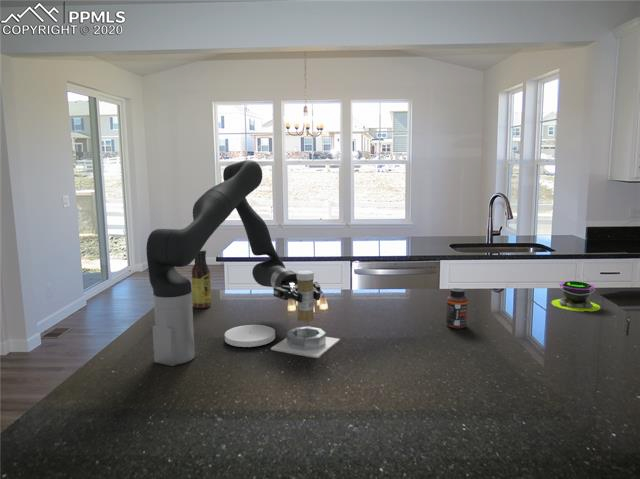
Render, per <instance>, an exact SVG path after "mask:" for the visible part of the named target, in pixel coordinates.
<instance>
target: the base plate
mask: <svg viewBox="0 0 640 479" xmlns="http://www.w3.org/2000/svg"><path fill="white" fill-rule="evenodd" d="M340 341H341V338H337V337H331V336H330V337H329V336H326V344H324V345H323V346H322V347H321V348H319V349H313V350H306V351H303V350H298V349H292V348H290V347H289V345H288V344H287V337H285V338H284V339H283V340H281V341H279V342H278V343H276V344H275V345H273V346H272V347H270V350H271V351H275V352H280V353H285V354H286V353H287V354H292V355H297V356H303V357H307V358H314V359H320V358H321V357H322V356H323V355H325V353H327V352H328V351H329V350H331V348H333V347H334V346H335V345H337V344H338V343H339V342H340Z"/></svg>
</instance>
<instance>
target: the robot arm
mask: <svg viewBox="0 0 640 479" xmlns="http://www.w3.org/2000/svg"><path fill="white" fill-rule="evenodd" d="M222 177H223V181H222V182H220V183H218V184H216V185H214V186H212V187H211V188H209V189H208V190H206V192H204V193H203V194H202V195H201V196H200V197H198V198H197V200H196V201H195V202H194V204H193V207H192V218H193V220H192V222H191V223H190V224H188V225H187V226H186V227H184V228H181V229H178V228H175V229H174V228H156V229H154V230H152V232H150V234H149V236H148V238H147V242H146V246H145V247H146V261H147V262H146V263H147V269H148V279H149V283H150V286H151V287H152V294H153V308H154V309H153V310H154V311H153V312H154V325H152V343H153V357H154V362H153V363H157V364H161V365H165V366H171V367H174V366H176V365H181V364H185V363H188V362H191V361H192V360H193V359H194V358H195V356H196V353H195V352H196V351H195V350H196V349H195V332H194V330H195V329H194V315H193V314H194V311H193V298H192V281H191V280H190V279H189V278H187V277H186V276H183V275H181V274H180V273H179V272H178V270H176V268H183V267H186V266H189V265H190V264H191V263H192V262H194V261H195V258H196V256H197V255H198V253H199V252H200V250H201V249H203V247H204V246H205V245H206V243H207V241H208V240H209V238H210V237H211V236H212V235H213V233H215V232H216V231H217V229H218V228H219V227H220V225H222V224H223V223H224V222H225V221H226V219H227V218H229V216H230V215H231V213H233V212H234V210H235V209H236V211H237V214H238V216H239V218H240V220H241V222H242V224H243V227H244V230H245V233H246V237H247V240H248V243H249V247H250V250H251V253H252V255H253V256H257V257H258V256H267V257H268V258H269V259H267V260H265V261H261V262H260V263H259V262H258V263H256V264H255V265H253V268H252V272H251V274H252V277H253V279H254V281H255V282H256V283H257V284H258V285H260V286H262V287H267V288H273V297H274V298H275V297H276V298H278V299H280V300H284V301H289V300H292V301H295V302H299V303H301V302H302V294H300V293H299V292H297V289H298V286H297V284H298V283H297V272H294V271H292V269H289V268H286V267H285V266H286V265H285V264H284V262H283V261H282V259H281V257H280V256H279V254H278V252H277V251H276V248H275V247H274V244H273V241H272V237H271V235H270V231H269V228H268V225H267V224H266V222H265V221H264V220H263V218H262V217H261V216H260V215H259V214H258V213H257V212H256V211H255V210H254V208H253V207H252V206H251V205H250V203H249V202H248V200H247V197H248V196H249V195H250V194H251V193H252V192H253V191H255V190H256V189H258V188H259V186H260V185H261V183H262V180H263V170H262V167H261V165H260V164H259V163H258V162H257V161H255V160H252V159H246V160H243V161H238V162H235V163H233V164H230V165H227V166H226V167H224V169H223V172H222ZM313 290H314V301H315V300H316V301H319V300H320V299H321V285H320V283H319V281H313Z"/></svg>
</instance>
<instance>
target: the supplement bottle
mask: <svg viewBox="0 0 640 479" xmlns="http://www.w3.org/2000/svg"><path fill="white" fill-rule="evenodd" d="M465 290H466V289H463V288H451V289H450V294H449V295H448V296H447V297H446V298H447V300H446V317H445V318H446V323H445V324H446V326H447V327H448V328H452V329H456V330H457V329H459V330H460V329H464V328H466V327H467V322H468V321H467V320H468V297H467V296H466V295H465V292H466V291H465Z"/></svg>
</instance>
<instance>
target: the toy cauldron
mask: <svg viewBox="0 0 640 479" xmlns="http://www.w3.org/2000/svg"><path fill="white" fill-rule="evenodd" d="M580 274H583V273H580ZM583 276H585V274H583ZM568 277H572V275H570V276H568ZM574 277H580V275H574ZM586 279H588V280H589V278H587V277H586ZM584 281H585V280H582V279H581V280H579V281H577V280H568V281H561V283H559V288H560V289H561V290H562V295H563V297H562V298H558V299H554V300H553V299H552V300H551V305H552V306H554V307H557V308H559V309H563V310H567V311H572V312H573V311H574V312H584V311H589V312H595V311H596V312H597V311H599V310H601V306H600V305H599V304H596V303H594V302H592V301H590V300H589V298H590V296H591V294H593V293H594V292H595V291H596V286H595V285H594V284H590V283H587V281H585V282H584Z"/></svg>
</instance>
